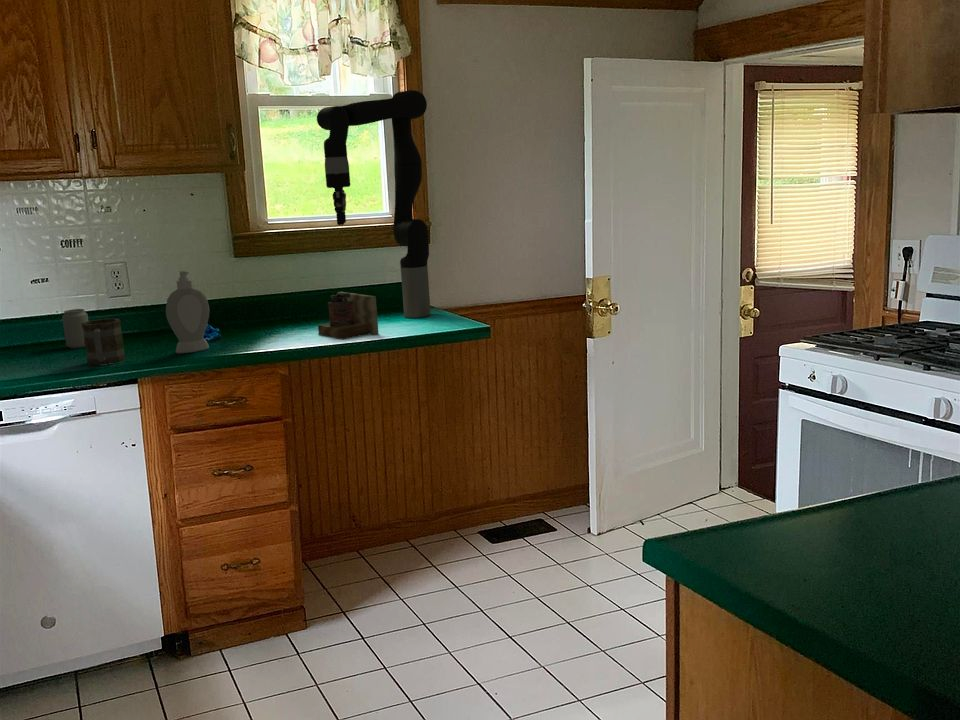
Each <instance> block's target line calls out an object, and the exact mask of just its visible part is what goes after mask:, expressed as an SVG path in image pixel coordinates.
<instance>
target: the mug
mask: <svg viewBox="0 0 960 720" xmlns="http://www.w3.org/2000/svg"><path fill="white" fill-rule="evenodd" d="M81 324H82V328H83V332H84V344H85V347H84V348H85V352H86V361H87V363H88V364H90V365H101V364H102V365H103V364H109V363H116V362H120V361H123V360H125V359H126V360H127V357H126V353H125V345H124V336H123V332H122V320H121V319H120V318H99V319H92V320H88V321H87V322H84V323H81ZM123 362H124V361H123ZM87 363H86V364H87ZM88 364H87V365H88ZM90 365H89V366H90Z"/></svg>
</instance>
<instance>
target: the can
mask: <svg viewBox="0 0 960 720" xmlns="http://www.w3.org/2000/svg"><path fill="white" fill-rule="evenodd" d="M61 318H62V324H63V325H62V326H63V332H64V339H65V345H66V347H68V348H69V349H72V350H75V349H84V348H85V344H84V332H83V328H82V324H81V323H84V322H87V321H89V316H88V313H87V312H86V310H85V309H84V308H73V309H68V310H65V311H63V315H62V317H61Z"/></svg>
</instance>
